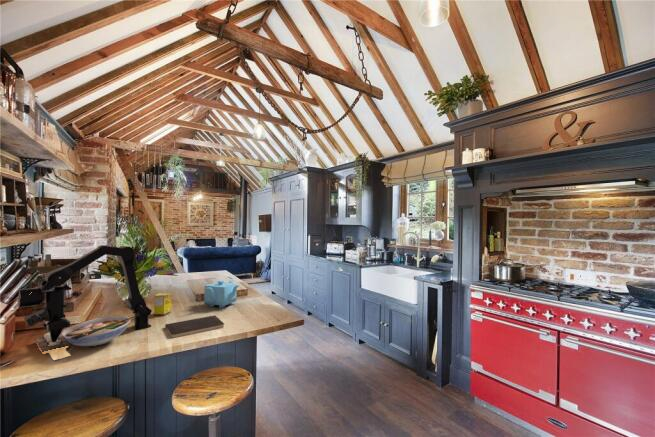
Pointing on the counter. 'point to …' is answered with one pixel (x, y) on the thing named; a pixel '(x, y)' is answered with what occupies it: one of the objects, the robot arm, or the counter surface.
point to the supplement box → (162, 304)
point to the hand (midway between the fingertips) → (53, 341)
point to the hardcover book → (194, 326)
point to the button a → (54, 342)
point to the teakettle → (220, 293)
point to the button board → (45, 347)
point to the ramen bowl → (96, 330)
